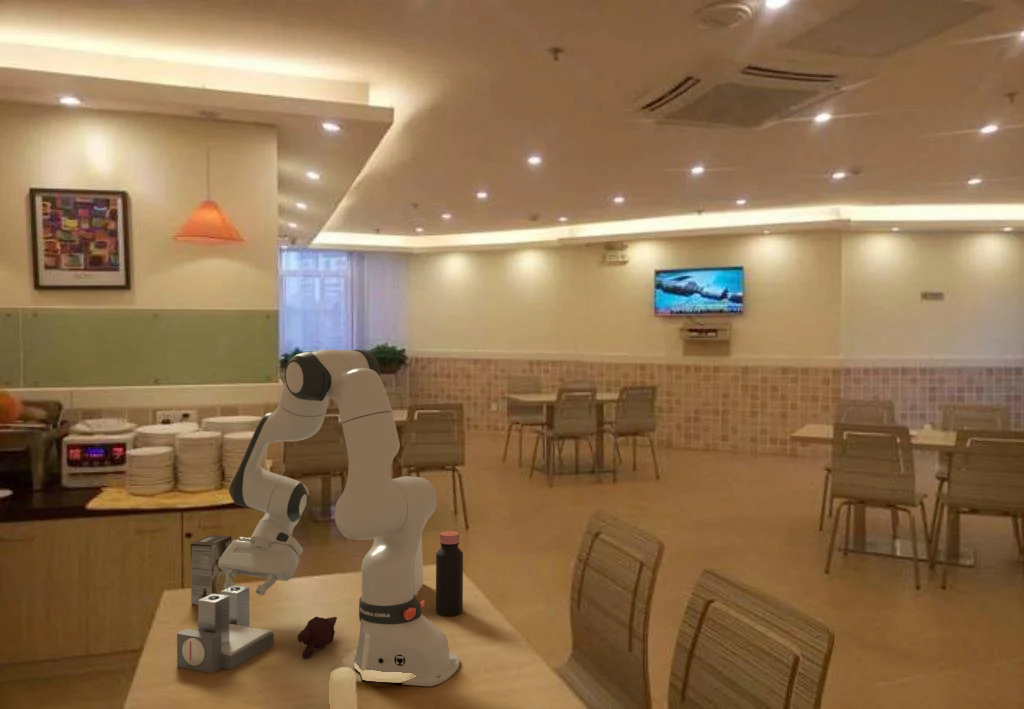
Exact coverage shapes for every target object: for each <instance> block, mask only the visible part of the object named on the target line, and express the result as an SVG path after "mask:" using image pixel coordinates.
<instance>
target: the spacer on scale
mask: <svg viewBox="0 0 1024 709" xmlns="http://www.w3.org/2000/svg"><path fill="white" fill-rule="evenodd" d="M197 607H198V609H197V610H198V611H197V614H198V615H197V616H198V617H197V619H198V620H197V622H198V624H197V625H198V628H197V631H203V632H209V633H215V634H221V646H222V645H224V644H226V643H228V642H229V596H227V595H220V594H211V595H208V596H206V597H204V598H202V599H200V600H198V605H197Z"/></svg>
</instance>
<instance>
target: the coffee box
mask: <svg viewBox="0 0 1024 709" xmlns="http://www.w3.org/2000/svg"><path fill="white" fill-rule="evenodd" d="M231 542H232V535H220V534H219V535H218V534H217V535H215V534H210V535H208V536H206V537H202V538H201V539H199V540H196V541H195V542H192V543H190V592H191V593H190V597H191V598H190V600H191V601H190V602H191V603H190V604H191V605H192V604H195V605H194V606H198V600H200V599H202V598H204V597H206V596H208V595H211V594H220V595H221V591H222V590H225V588H224V584H225V582H226V572H224V571H222V570H221V569H220V568H219V566H218V561H219V559H220V558H221V556H222V555H223V553H224V552H225V550H226V549H227V548H228V546H229V545H230V544H231Z"/></svg>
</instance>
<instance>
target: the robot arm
mask: <svg viewBox="0 0 1024 709" xmlns="http://www.w3.org/2000/svg"><path fill="white" fill-rule="evenodd" d="M380 375H381V370H380V364H379V362H378V360H377V357H375V355H374V354H373V353H372V352H370V351H367V350H363V349H352V350H349V349H348V350H347V349H323V350H316V351H305V352H301V353H298V354H296V355H294V356H292V357H291V358H289V359H288V361H287V364H286V366H285V369H284V381H285V382H284V385H283V387H282V391H281V393H280V394H281V395H280V398H279V402H278V405H277V407H276V409H275V410H274V411H272V412H268V413H266V414H265V415H264V416H263V417H262V418H261V419H260V421H259V423H258V424H257V426H256V429H255V430H254V432H253V434H252V437H251V438H250V440H249V441H250V442H249V443H248V446H247V448H246V450H245V452H244V455H243V457H242V460H241V461H240V464H239V466H238V468H237V471H236V473H235V474H234V475H233V477H232V479H231V482H230V484H229V489H228V493H229V496H230V498H231V500H232V502H234V504H235V505H237V506H241V507H245V508H250V509H254V510H258V511H260V512H264V516H263V517H262V518H261V519H260V520H259V521H258V523H257V525H256V527H255V528H254V531H253V532H252V534H251V536H250V537H245V536H239V537H238V538H235V539H233V540H231V544H230V545H229V546H228V548H227V549H226V550H225V552H224V553H223V555H222V556H221V558H220V559H219V561H218V566H219V568H220V569H221V570H222V571H224V572H226V582H225V584H224V588H225V589H227V588H229V587H231V586H233V585H236V584H235V583H234V581H233V579H234V578H236V576H237V575H242V576H249V577H257V578H262V579H263V578H264V579H266V580H265V581H264V582H263V583H262V584H258V586H257V587H256V590H255V593H257V595H260V596H265V594H266V592H267V590H268V589H270V588H271V587H272V586H273V585H274V584H276V581H283V582H284V581H286V582H288V581H289V580H291V579H292V578H293V576H294V575H295V572H296V570H297V568H298V566H299V563H300V556H301V555H302V553H303V552H304V549H303V547H302V546H301V544H300V543H299V542H298V541H297V540H296V538H295V537H294V536H293V535H292V534H293V532H294V528H295V526H297V525H298V523H299V521H300V519H301V518H302V517H303V515H304V513H305V511H306V508H307V506H308V503H309V488H308V487H307V486H306V485H305V484H304V483H303V482H302V481H299V480H296V479H294V478H291V477H288V476H286V475H281V474H278V473H276V472H275V473H274V472H272V471H270V470H266V469H264V468H263V467H262V466H261V463H262V461H263V458H264V457H265V455H266V453H267V450H268V448H269V445H270V444H272V443H279V442H280V443H281V442H299V441H303V440H306V439H307V440H308V439H310V438H311V437H313V436H315V435H316V434H317V433H318V432H319V431H320V430H321V428H322V426H323V423H324V421H325V417H326V415H327V414H326V413H327V410H328V406H329V400H330V399H331V400H333V401H334V402H335V403H336V404H337V407H338V411H339V419H340V422H341V428H342V431H343V435H344V441H345V446H346V451H347V457H348V458H347V459H348V473H347V478H346V479H347V480H346V483H345V487H344V490H343V492H341V493H342V494H341V495H340V496H339V498H338V500H337V501H336V504H335V507H334V522H335V524H336V527H337V529H338V530H339V532H340V533H341V534H342V535H343V536H344V537H345V538H347V539H349V540H372V539H373V543H374V544H372V546H371V548H370V549H369V550H368V551H367V553H366V554H365V555H364V557H363V559H362V562H361V568H360V570H361V572H360V573H361V575H360V576H361V584H360V585H361V586H360V587H361V590H360V592H361V595H360V597H359V602H358V604H359V605H358V610H359V611H358V619H359V622H360V626H359V636H358V643H357V647H356V648H357V649H356V652H355V656H354V660H355V662H356V664H357V665H358V666H359V668H360V669H361V670H362V671H364V670H374V671H375V670H376V671H381V672H402V673H412V674H414V675H416V677H414V678H412V679H409V680H407V682H406V683H404V684H403V685H407V686H418V687H419V686H421V687H433V686H434V687H435V686H436V685H440V684H442V683H443V682H445V681H447V680H448V679H449V678H451V677H452V676H453V675H455V673H456V672H457V671H458V669H459V667H460V663H461V662H460V657H459V655H458V654H455V653H452V652H450V647H449V641H448V637H447V635H446V633H444V632H443V631H442V630H441V629H440V628H439V627H438V626H436V625H435V624H434V623H433V622H431V620H430V619H428V618H427V617H426V616H425V615H424V614H422V608H423V607H424V606H425V601H426V600H425V599H423V600H421V601H420V602H419V600H418V599H417V595H416V596H415V594H414V566H415V557H416V552H417V548H418V544H419V541H420V538H421V537H422V534H423V532H424V530H425V526H426V525H427V522H428V521H429V520H430V518H431V517H432V515H433V514H435V511H436V508H437V505H438V504H437V503H438V496H437V492H436V489H435V487H434V485H433V484H432V483H431V481H429V480H428V479H426V478H424V477H421V476H406V475H404V476H399V477H396V478H392V476H391V475H392V464H393V460H394V458H395V457H396V455H397V454H398V453H399V450H400V447H401V444H400V443H401V442H400V439H399V435H398V430H397V426H396V421H395V418H394V417H395V416H394V414H393V409H392V405H391V402H390V398H389V396H388V394H387V390H386V388H385V385H384V383H383V381H382V378H381V377H380ZM374 538H376V539H375V541H374Z"/></svg>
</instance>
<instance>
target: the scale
mask: <svg viewBox="0 0 1024 709" xmlns="http://www.w3.org/2000/svg"><path fill="white" fill-rule="evenodd" d="M274 635H275V634H274V631H273V632H272V631H271V630H269V629H264V628H258V627H250V626H249V627H247V626H241V625H235V624H229V642H228V643H226V644H224V645H222V646H221V634H215V633H209V632H203V631H198V629H197V630H196V629H190V628H186V629H184V630H182V631H179V632H178V633H177V634H176V662H177V663H176V667H177V668H183V669H188V670H193V671H199V672H202V671H203V672H204V673H208V674H213V673H215V672H217V671H218V670H220V669H225V670H233V669H235V668H237V667H238V666H239V665H241V664H243V663H244V662H247V660H249V659H251V658H252V657H254V656H256V655H258V654H259V653H261V652H263V651H264V650H266V649H267V648H269V647H271V646H273V645H274V643H275V642H274V641H275V640H274V637H275V636H274Z"/></svg>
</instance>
